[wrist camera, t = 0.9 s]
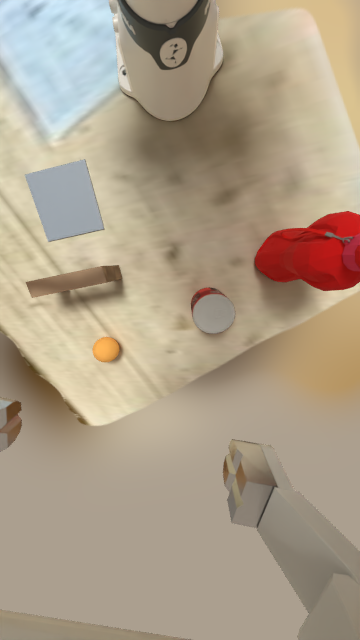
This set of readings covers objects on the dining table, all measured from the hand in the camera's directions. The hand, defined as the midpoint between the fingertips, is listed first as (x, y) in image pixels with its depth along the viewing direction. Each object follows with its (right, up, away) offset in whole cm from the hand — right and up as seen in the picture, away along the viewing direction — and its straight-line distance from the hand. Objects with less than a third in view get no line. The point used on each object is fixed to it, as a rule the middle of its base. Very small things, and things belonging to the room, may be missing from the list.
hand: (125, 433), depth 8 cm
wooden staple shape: (-19, +14, +39) cm, 45 cm away
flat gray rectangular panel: (-22, +29, +35) cm, 50 cm away
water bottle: (+23, +19, +37) cm, 47 cm away
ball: (-16, -3, +41) cm, 44 cm away
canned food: (+9, +8, +40) cm, 42 cm away
